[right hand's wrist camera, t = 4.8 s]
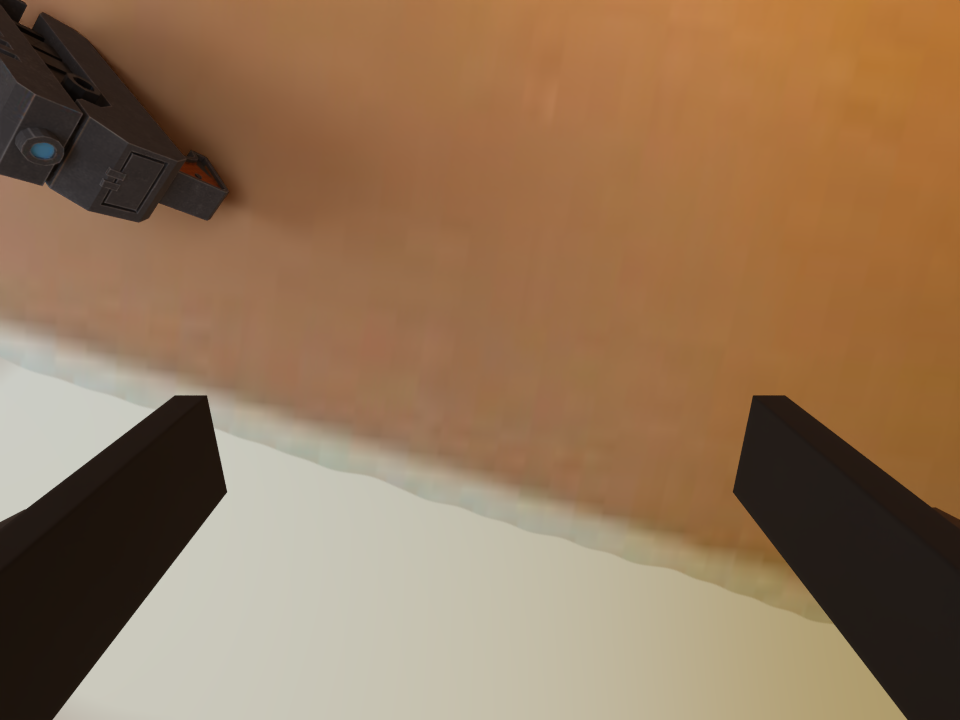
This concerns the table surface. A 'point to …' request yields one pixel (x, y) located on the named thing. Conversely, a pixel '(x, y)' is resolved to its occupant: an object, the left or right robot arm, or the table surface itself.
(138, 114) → the tool
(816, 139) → the table surface
